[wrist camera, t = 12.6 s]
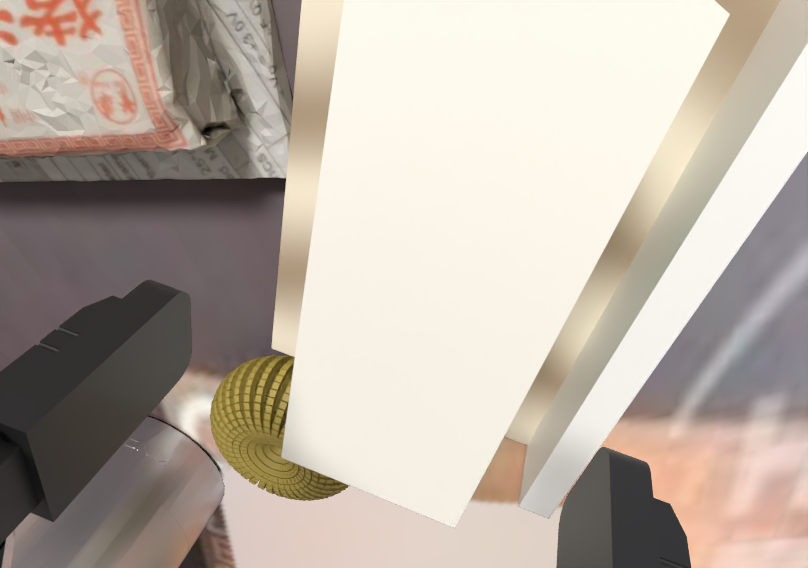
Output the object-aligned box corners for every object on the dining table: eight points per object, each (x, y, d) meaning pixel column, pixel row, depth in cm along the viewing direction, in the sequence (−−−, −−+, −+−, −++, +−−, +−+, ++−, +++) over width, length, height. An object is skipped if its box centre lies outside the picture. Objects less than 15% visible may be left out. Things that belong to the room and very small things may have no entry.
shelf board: (557, 428, 24) (554, 455, 23) (286, 327, 26) (271, 348, 25) (925, -179, 12) (961, -188, 11) (355, -314, 13) (331, -335, 12)
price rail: (559, 457, 23) (554, 520, 21) (527, 445, 23) (518, 506, 21) (972, -186, 11) (1078, -210, 8) (895, -203, 11) (978, -232, 8)
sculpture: (222, 501, 29) (168, 387, 24) (260, 441, 32) (219, 331, 28) (366, 532, 26) (334, 410, 22) (392, 463, 29) (369, 346, 25)
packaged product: (-123, 218, 23) (-322, -64, 18) (-19, 173, 27) (-158, -71, 22) (254, 221, 17) (127, -191, 12) (318, 163, 21) (242, -169, 16)
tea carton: (681, -33, 13) (736, 16, 8) (495, 368, 22) (458, 529, 16) (456, -98, 14) (356, -96, 8) (361, 318, 22) (281, 457, 17)
